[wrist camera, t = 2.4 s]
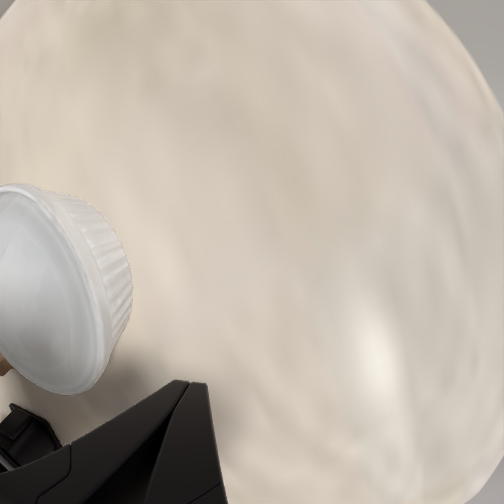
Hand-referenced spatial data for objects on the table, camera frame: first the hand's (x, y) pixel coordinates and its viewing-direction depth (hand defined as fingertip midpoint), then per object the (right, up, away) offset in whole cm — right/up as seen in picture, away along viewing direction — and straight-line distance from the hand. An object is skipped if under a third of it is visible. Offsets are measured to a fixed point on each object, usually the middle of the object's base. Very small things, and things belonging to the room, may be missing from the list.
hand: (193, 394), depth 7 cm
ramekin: (-10, +2, +9) cm, 14 cm away
